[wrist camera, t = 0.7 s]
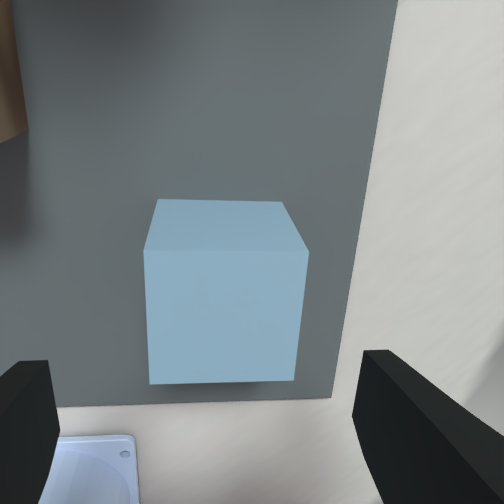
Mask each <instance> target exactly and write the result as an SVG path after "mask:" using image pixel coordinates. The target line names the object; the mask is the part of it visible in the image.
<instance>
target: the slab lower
mask: <svg viewBox="0 0 504 504" xmlns="http://www.w3.org/2000/svg"><path fill="white" fill-rule="evenodd" d="M27 130H29V127H28V120H27V113H26V106H25V99H24V92H23V85H22V79H21V72H20V65H19V58H18V51H17V44H16V37H15V30H14V23H13V16H12V9H11V2H10V0H0V141H1V143H2V142H4V141H6V140H8V139H10V138H12V137H15V136H17V135H19V134H21V133H23V132H25V131H27Z"/></svg>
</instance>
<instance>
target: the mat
mask: <svg viewBox="0 0 504 504" xmlns="http://www.w3.org/2000/svg"><path fill="white" fill-rule="evenodd" d="M10 2H11V9H12V16H13V23H14V30H15V37H16V44H17V51H18V58H19V65H20V72H21V79H22V85H23V92H24V99H25V106H26V113H27V120H28V127H29V130H27V131H25V132H23V133H21V134H19V135H17V136H15V137H12V138H10V139H8V140H6V141H4V142H2V143H0V376H1V375H3V374H4V373H5V372H6V371H7V370H8V369H10V368H11V367H12V366H13V365H14V364H16V363H17V362H18V361H30V360H48V362H49V368H50V374H51V380H52V385H53V391H54V397H55V403H56V407H70V406H100V405H130V404H160V403H191V402H221V401H251V400H281V399H311V398H331V396H332V390H333V384H334V378H335V372H336V366H337V360H338V354H339V348H340V342H341V336H342V330H343V324H344V318H345V313H346V307H347V301H348V295H349V289H350V283H351V277H352V271H353V265H354V259H355V253H356V247H357V241H358V235H359V229H360V223H361V217H362V211H363V205H364V199H365V193H366V187H367V181H368V175H369V169H370V163H371V157H372V151H373V145H374V139H375V133H376V128H377V122H378V116H379V110H380V104H381V98H382V92H383V86H384V80H385V74H386V68H387V62H388V56H389V50H390V44H391V38H392V32H393V26H394V20H395V14H396V8H397V2H398V0H10ZM158 199H178V200H223V201H268V202H282V203H283V205H284V207H285V209H286V210H287V212H288V214H289V216H290V218H291V220H292V221H293V223H294V225H295V227H296V229H297V231H298V232H299V234H300V236H301V238H302V240H303V242H304V243H305V245H306V247H307V249H308V251H309V257H308V265H307V274H306V282H305V290H304V299H303V307H302V315H301V323H300V332H299V340H298V348H297V357H296V365H295V373H294V380H292V381H256V382H220V383H185V384H150V382H149V360H148V339H147V317H146V296H145V274H144V253H143V250H144V247H145V243H146V239H147V236H148V232H149V229H150V225H151V221H152V218H153V214H154V211H155V207H156V204H157V200H158Z"/></svg>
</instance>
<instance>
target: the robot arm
mask: <svg viewBox="0 0 504 504" xmlns="http://www.w3.org/2000/svg"><path fill="white" fill-rule="evenodd" d="M352 418H353V422H354V425H355V429H356V432H357V436H358V440H359V443H360V446H361V449H362V453H363V456H364V459H365V461H366V463H367V466H368V468H369V471H370V473H371V475H372V478H373V480H374V482H375V485H376V487H377V489H378V492H379V494H380V496H381V499H382V501H383V503H384V504H504V436H502V435H501V434H499V433H498V432H496V431H495V430H494V429H492V428H491V427H490V426H488V425H487V424H485V423H484V422H482V421H481V420H480V419H478V418H477V417H475V416H474V415H473V414H471V413H470V412H469V411H467V410H466V409H465V408H463V407H462V406H461V405H459V404H458V403H457V402H455V401H454V400H453V399H451V398H450V397H449V396H448V395H446V394H445V393H444V392H442V391H441V390H440V389H439V388H437V387H436V386H435V385H433V384H432V383H431V382H430V381H428V380H427V379H426V378H425V377H423V376H422V375H421V374H420V373H418V372H417V371H416V370H414V369H413V368H412V367H411V366H409V365H408V364H407V363H406V362H404V361H403V360H402V359H400V358H399V357H398V356H396V355H395V354H394V353H392V352H391V351H389V350H364V352H363V358H362V363H361V369H360V374H359V380H358V385H357V391H356V396H355V402H354V407H353V413H352ZM59 433H60V426H59V420H58V414H57V409H56V403H55V397H54V391H53V385H52V380H51V374H50V368H49V362H48V360H30V361H18V362H17V363H16V364H14V365H13V366H12V367H11V368H10V369H8V370H7V371H6V372H5V373H4V374H3V375H1V376H0V504H140V501H139V486H138V471H137V456H136V442H135V439H134V438H133V437H132V436H130V435H126V434H123V435H99V436H74V437H59ZM124 451H128V452H124Z"/></svg>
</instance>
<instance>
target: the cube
mask: <svg viewBox="0 0 504 504" xmlns="http://www.w3.org/2000/svg"><path fill="white" fill-rule="evenodd" d="M143 253H144V274H145V296H146V317H147V339H148V360H149V382H150V384H185V383H220V382H256V381H292V380H294V373H295V365H296V357H297V348H298V340H299V332H300V323H301V315H302V307H303V299H304V290H305V282H306V274H307V265H308V257H309V251H308V249H307V247H306V245H305V243H304V242H303V240H302V238H301V236H300V234H299V232H298V231H297V229H296V227H295V225H294V223H293V221H292V220H291V218H290V216H289V214H288V212H287V210H286V209H285V207H284V205H283V203H282V202H268V201H223V200H178V199H158V200H157V204H156V207H155V211H154V214H153V218H152V221H151V225H150V229H149V232H148V236H147V239H146V243H145V247H144V250H143Z"/></svg>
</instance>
